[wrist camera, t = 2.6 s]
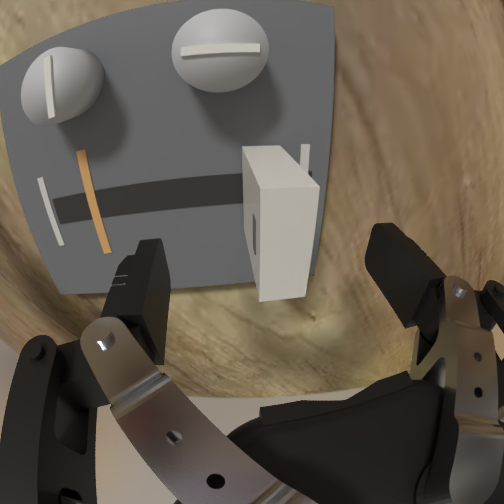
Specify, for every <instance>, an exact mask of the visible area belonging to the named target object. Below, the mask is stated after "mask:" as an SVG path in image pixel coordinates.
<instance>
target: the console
mask: <svg viewBox="0 0 504 504" xmlns="http://www.w3.org/2000/svg"><path fill="white" fill-rule="evenodd" d="M334 59H335V29H334V6H329V5H324V4H319V3H313V2H306V1H299V0H179V1H172V2H166V3H160V4H154V5H149V6H144V7H140V8H135V9H131V10H127V11H123V12H120V13H116V14H113V15H109V16H106V17H103V18H100V19H97V20H94V21H91V22H88V23H85V24H82V25H80V26H77V27H75V28H72V29H70V30H67V31H65V32H62V33H60V34H58V35H56V36H53V37H51V38H49V39H47V40H45V41H43V42H41V43H39V44H37V45H35V46H33V47H31V48H29V49H28V50H26V51H24V52H22V53H20V54H19V55H17V56H15V57H14V58H12V59H10V60H9V61H7V62H5V63H4V64H2V65H1V66H0V110H1V118H2V125H3V132H4V138H5V143H6V148H7V153H8V158H9V162H10V166H11V170H12V174H13V178H14V182H15V185H16V189H17V192H18V195H19V199H20V202H21V205H22V208H23V211H24V214H25V217H26V219H27V222H28V225H29V227H30V230H31V233H32V235H33V238H34V240H35V243H36V245H37V247H38V250H39V252H40V254H41V256H42V259H43V261H44V263H45V265H46V267H47V269H48V271H49V274H50V276H51V278H52V280H53V282H54V284H55V285H56V287H57V289H58V291H59V293H60V294H87V293H109V290H110V287H111V286H112V281H113V279H114V277H115V273H116V271H117V268H118V265H119V264H120V263H121V262H122V261H123V260H124V258H125V257H126V256H127V255H135V252H136V250H137V247H138V244H139V241H140V240H145V239H155V238H161V239H162V242H163V246H164V250H165V255H166V260H167V264H168V269H169V273H170V280H171V289H176V288H189V287H202V286H215V285H227V284H238V283H249V282H255V279H254V274H253V269H252V264H251V260H250V255H249V250H248V246H247V241H246V236H245V231H244V210H243V171H242V146H270V145H280V146H281V147H282V148H283V149H284V150H285V151H286V152H287V153H288V154H289V155H290V156H291V157H292V158H293V159H294V160H295V161H296V162H297V163H298V164H299V165H300V166H301V167H302V168H303V169H304V170H305V171H306V172H307V174H308V175H309V176H310V177H311V178H312V179H313V180H314V181H315V182H316V183H317V184H318V185H319V186H320V191H319V200H318V209H317V218H316V226H315V234H314V241H313V249H312V256H311V263H310V269H309V276H314V271H315V265H316V259H317V252H318V246H319V239H320V232H321V225H322V218H323V210H324V202H325V193H326V184H327V175H328V165H329V154H330V142H331V129H332V113H333V94H334Z"/></svg>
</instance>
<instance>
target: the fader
mask: <svg viewBox="0 0 504 504" xmlns="http://www.w3.org/2000/svg"><path fill="white" fill-rule="evenodd" d="M242 171H243V210H244V231H245V236H246V241H247V246H248V250H249V255H250V260H251V264H252V269H253V274H254V279H255V283H256V288H257V293H258V297H259V302H263V301H272V300H281V299H289V298H298V297H305V295H306V288H307V282H308V276H309V269H310V263H311V256H312V249H313V241H314V234H315V226H316V218H317V209H318V200H319V191H320V186H319V185H318V184H317V183H316V182H315V181H314V180H313V179H312V178H311V177H310V176H309V175H308V174H307V172H306V171H305V170H304V169H303V168H302V167H301V166H300V165H299V164H298V163H297V162H296V161H295V160H294V159H293V158H292V157H291V156H290V155H289V154H288V153H287V152H286V151H285V150H284V149H283V148H282V147H281V146H280V145H270V146H242Z"/></svg>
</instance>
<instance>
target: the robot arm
mask: <svg viewBox="0 0 504 504" xmlns="http://www.w3.org/2000/svg"><path fill="white" fill-rule="evenodd" d="M365 266H366V269H367V271H368V272H369V274H370V275H371V277H372V278H373V280H374V281H375V283H376V284H377V285H378V287H379V288H380V290H381V291H382V293H383V294H384V296H385V297H386V299H387V300H388V302H389V304H390V305H391V307H392V308H393V310H394V311H395V313H396V314H397V316H398V318H399V319H400V321H401V322H402V324H403V326H404V327H405V329H406V328H409V327H412V326H416V325H417V326H418V329H417V331H416V333H415V339H414V347H413V355H412V362H411V368H410V373H409V374H408V372H407V371H404V372H402V373H399V374H396V375H393V376H390V377H387V378H384V379H381V380H378V381H376V382H375V383H373V384H372V385H370V386H369V387H367V388H365V389H364V390H362V391H361V392H359V393H357V394H356V395H354V396H352V397H350V398H349V399H347V400H342V401H307V400H301V401H296V402H290V403H285V404H280V405H272V406H266V407H260V412H259V417H258V418H255V419H253V420H250V421H249V422H246V423H245V424H243V425H241V426H239V427H238V428H236V429H235V430H234V431H232V432H231V433H230V434H229V435H227V436H225V435H224V434H223V433H222V432H221V431H220V430H219V429H218V428H217V427H216V426H215V425H214V424H213V423H212V422H211V421H210V420H209V419H208V418H207V417H206V416H205V415H204V414H202V412H201V411H200V410H199V409H198V408H197V407H196V406H195V405H194V404H193V403H192V402H191V401H190V400H189V399H188V398H187V396H186V395H185V394H184V393H183V392H182V391H181V390H180V389H179V388H178V387H177V385H176V384H175V383H174V382H173V381H172V380H171V379H170V378H169V377H168V376H167V375H166V374H165V373H163V374H162V373H161V372H160V371H159V369H158V368H157V367H156V366H155V365H164V357H165V343H166V331H167V320H168V310H169V301H170V292H171V280H170V273H169V269H168V264H167V260H166V255H165V250H164V246H163V242H162V239H161V238H155V239H145V240H140V241H139V244H138V247H137V250H136V252H135V255H127V256H126V257H125V258H124V260H123V261H122V262H121V263H120V264H119V265H118V268H117V271H116V273H115V277H114V279H113V281H112V286H111V287H110V290H109V293H108V296H107V299H106V302H105V305H104V308H103V311H102V314H101V317H100V319H97V320H95V321H93V322H92V323H90V324H89V325H88V326H87V327H86V328H85V330H84V331H83V333H82V335H81V339H79V340H76V341H72V342H69V343H65V344H62V345H58V346H57V344H56V343H55V342H54V340H53V339H52V338H51V337H49V336H47V335H39V336H36V337H34V338H32V339H30V340H29V341H28V342H27V343H26V344H25V346H24V347H23V349H22V351H21V353H20V357H19V360H18V363H17V366H16V369H15V373H14V376H13V380H12V384H11V388H10V391H9V396H8V400H7V405H6V410H5V415H4V421H3V426H2V433H1V440H0V504H97V496H96V478H95V441H96V419H97V407H100V406H103V405H108V404H111V407H110V410H111V412H112V414H113V416H114V418H115V419H116V421H117V422H118V424H119V425H120V427H121V429H122V430H123V432H124V433H125V435H126V436H127V437H128V439H129V440H130V442H131V443H132V445H133V446H134V447H135V449H136V450H137V451H138V453H139V454H140V455H141V457H142V458H143V459H144V461H145V462H146V463H147V465H148V466H149V467H150V468H151V469H152V471H153V472H154V473H155V474H156V476H157V477H158V478H159V479H160V480H161V481H162V482H163V484H164V485H165V486H166V487H167V488H168V489H169V490H170V491H171V493H173V495H174V496H175V497H176V498H177V500H176V502H175V503H174V504H504V358H503V360H502V361H501V360H500V358H499V356H498V355H497V353H496V351H495V345H494V338H493V334H492V332H491V330H492V329H493V327H494V326H495V325H496V323H497V324H498V326H499V327H500V329H501V330H502V332H503V333H504V286H503V285H501V284H500V283H498V282H496V281H493V280H489V281H487V283H486V284H485V286H484V288H483V290H482V291H476V290H473V288H472V287H471V285H470V284H469V283H468V282H467V281H465V280H464V279H462V278H460V277H457V276H446V275H445V274H444V273H443V272H442V271H441V270H440V268H439V267H438V266H437V265H436V264H435V263H434V262H433V261H432V260H431V259H430V258H429V256H427V254H426V253H425V252H424V251H423V250H421V248H420V247H419V246H418V245H417V244H416V243H415V242H414V241H413V240H412V239H410V238H408V237H407V236H406V235H405V234H404V233H403V232H402V231H401V230H400V229H399V228H398V227H397V226H396V225H395V224H393V223H376V224H375V225H374V226H373V228H372V231H371V235H370V239H369V243H368V247H367V251H366V254H365Z"/></svg>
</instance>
